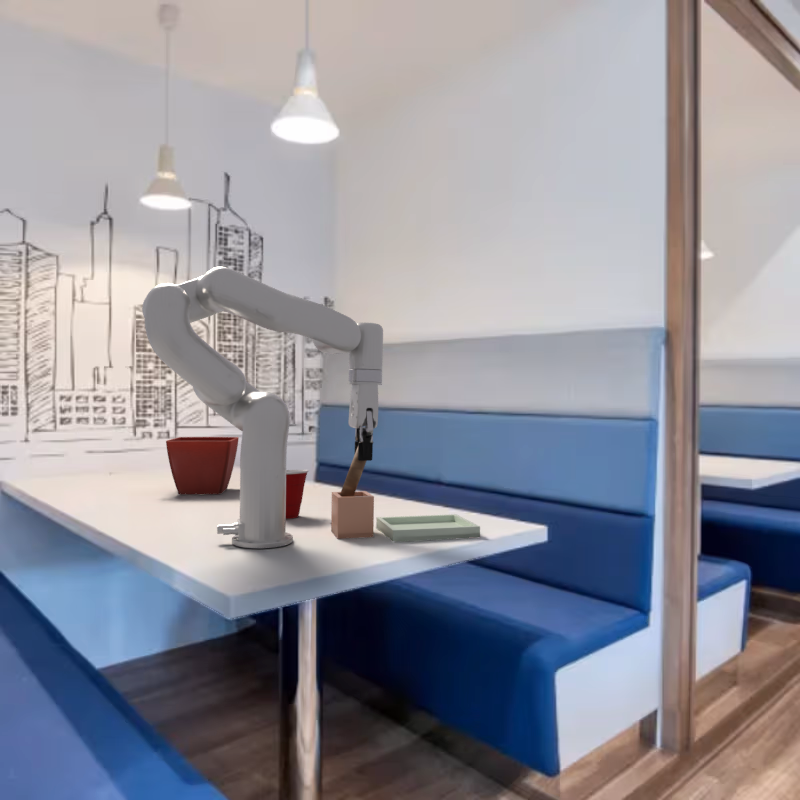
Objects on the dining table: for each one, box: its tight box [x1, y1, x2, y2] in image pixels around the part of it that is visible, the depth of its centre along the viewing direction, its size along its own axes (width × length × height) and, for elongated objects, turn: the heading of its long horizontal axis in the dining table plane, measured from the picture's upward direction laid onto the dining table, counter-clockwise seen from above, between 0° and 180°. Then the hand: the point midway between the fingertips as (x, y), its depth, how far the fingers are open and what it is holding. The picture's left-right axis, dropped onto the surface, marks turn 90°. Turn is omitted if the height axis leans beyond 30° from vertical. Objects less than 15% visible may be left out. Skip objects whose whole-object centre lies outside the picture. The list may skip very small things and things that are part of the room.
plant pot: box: [165, 436, 239, 495], centre depth 207 cm, size 19×19×17 cm
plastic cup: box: [286, 469, 310, 520], centre depth 168 cm, size 11×11×12 cm
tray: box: [375, 513, 481, 543], centre depth 151 cm, size 20×15×2 cm
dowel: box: [340, 441, 374, 497], centre depth 148 cm, size 8×3×14 cm, turn 106°
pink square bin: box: [330, 490, 375, 540], centre depth 148 cm, size 8×8×9 cm
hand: (363, 458), depth 149 cm, fingers closed on dowel, 3 cm apart
